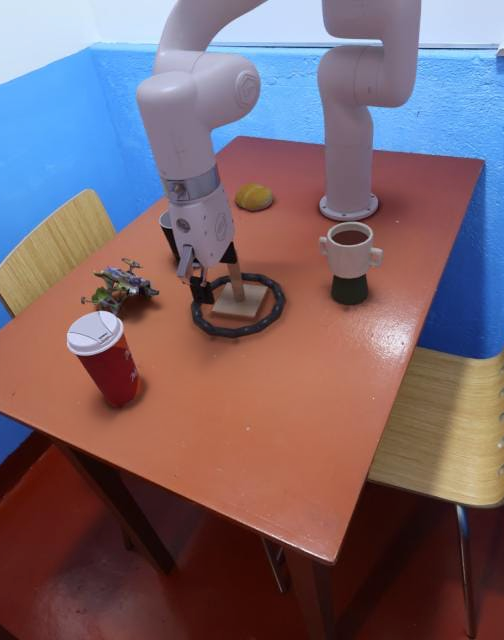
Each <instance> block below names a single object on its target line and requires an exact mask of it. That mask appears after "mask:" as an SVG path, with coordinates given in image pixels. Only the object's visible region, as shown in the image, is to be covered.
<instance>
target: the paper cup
mask: <svg viewBox="0 0 504 640" xmlns="http://www.w3.org/2000/svg"><path fill="white" fill-rule="evenodd" d="M123 323H124V322H122V320H121V319H120V318H119V317H117V315H116V316H115V315H113V312H109V311H106V310H103V311H100V310H98V311H94V312H89V313H86V314H84V315H82V316H80V317H79V318H78V319H76V320H75V321H74V322H73V323H72V324H71V325H70V327H69V328H68V331H67V333H66V346H67V348H68V350H69V351H70V352H71V353H73V354H75V356H76V357H77V359H78V360H79V362H80V363H81V365H82V366H83V368H84V369H85V371H86V372H87V374H88V375H89V377H90V378H91V379H92V381H93V383H94V384H95V386H96V387H97V389H98V390H99V392H100V393H101V394H102V396H103V397H104V398H105V400H106V401H107V402H108V404H110V405H111V406H112V407H114V408H124V406H125V404H128V403H130V402H131V401H134V399H136V397H138V395H139V394H140V393H141V391H142V388H143V386H142V385H143V383H142V380H141V377H140V374H139V371H138V369H137V365H136V363H135V360H134V358H133V357H134V356H133V354H132V351H131V349H130V346H129V343H128V341H127V338H126V335H125V333H124V324H123Z"/></svg>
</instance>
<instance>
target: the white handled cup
mask: <svg viewBox="0 0 504 640" xmlns="http://www.w3.org/2000/svg"><path fill="white" fill-rule="evenodd" d="M325 244H326V246H325ZM325 247H326V248H325ZM318 252H319V254H320V255H323V256H326V257H327V265H328V269H329V271H330V272H331V273H332V274H333V276H332V282H331V289H330V290H331V291H330V295H331V298H332V300H333V301H334V302H336V303H337V304H340V305H343V306H356V305H359V304H362V303H363V302H365V300H367V299H368V296H369V284H368V279H367V278H368V277H367V272H368V271H369V270H370V269H371V267H375V268H382V266H383V263H384V261H383V260H384V250H383V249H381V248H377V247H374V232H373V230H372V228H371V227H370V226H368V225H367V224H365V223H362V222H360V221H359V222H358V221H345V222H340V223H339V224H335V225H334V226H332V227H330V229H329V230H328V231H327V234H326V236H320V237H318ZM373 255H375V256H376V259H373Z"/></svg>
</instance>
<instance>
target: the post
mask: <svg viewBox="0 0 504 640" xmlns="http://www.w3.org/2000/svg"><path fill="white" fill-rule="evenodd" d="M235 252H236V256H237V262H236V264H228V263H226V265H227V270H228V275H229V276H230V280H231V283H229V282H227V284H224V287H223V289H222V291H221V293H220V294H219V297H218V298H217V300H215V303H214V304H213V306H212V309H211V313H215V314H222V315H229V316H231V315H232V316H238V317H247V318H255V317H256V316H257V313H258V311H259V309H260V306H261V305H262V303H263V300H264V298H265V296H266V294H267V291H268V290H269V288H268V287H267V286H264V285H256V284H246V283H244V282H243V280H242V276H241V272H242V270H241V265H240V260H239V254H238V250H237V249H236V248H235Z"/></svg>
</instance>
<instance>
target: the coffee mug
mask: <svg viewBox="0 0 504 640" xmlns="http://www.w3.org/2000/svg"><path fill="white" fill-rule="evenodd" d="M158 223H159V226H160V228H161V231H162V232H163V234H164V237H165V239H166V241H167V243H168V246H169V248H170V250H171V252H172V254H173V257H174V259H175V261H176V263H177V265H178V266H179V263H180V259H181V258H180V255H179V252H178V249H177V246H176V242H175V238H174V234H173V229H172V225H171V219H170V213H169V209H167V210H165V211H164V212H162V213H161V215H160V216H159V218H158ZM193 262H194V263H200V262H199V261H198V259H197V258H194V260H193ZM195 268H196V267H194V269H195Z"/></svg>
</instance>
